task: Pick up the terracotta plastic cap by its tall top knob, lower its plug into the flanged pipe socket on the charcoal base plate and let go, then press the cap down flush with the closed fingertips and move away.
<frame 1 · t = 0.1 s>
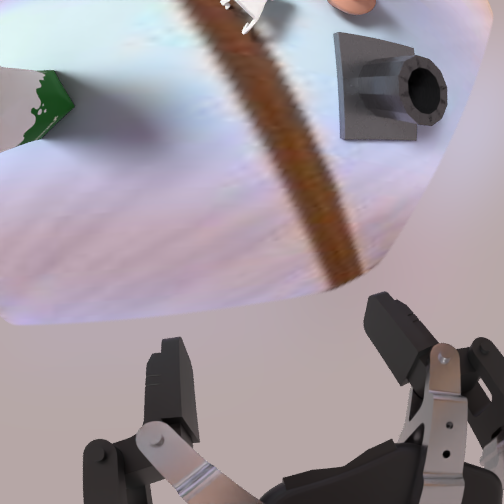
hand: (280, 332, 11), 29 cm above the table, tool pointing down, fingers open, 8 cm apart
flanged pipe socket: (377, 88, 34), on the table
milk carton: (46, 104, 26), on the table
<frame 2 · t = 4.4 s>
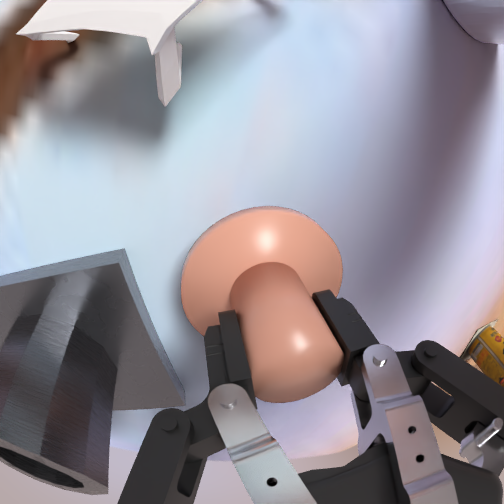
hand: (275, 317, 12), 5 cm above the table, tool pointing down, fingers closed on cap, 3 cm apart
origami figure: (180, 12, 9), on the table
condiment: (475, 342, 33), on the table
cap: (252, 256, 16), on the table, touching gripper
flanged pipe socket: (65, 347, 17), on the table
when the fingers open (15 cm above the table, at t = 10.8 s): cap drops 1 cm, resting on flanged pipe socket.
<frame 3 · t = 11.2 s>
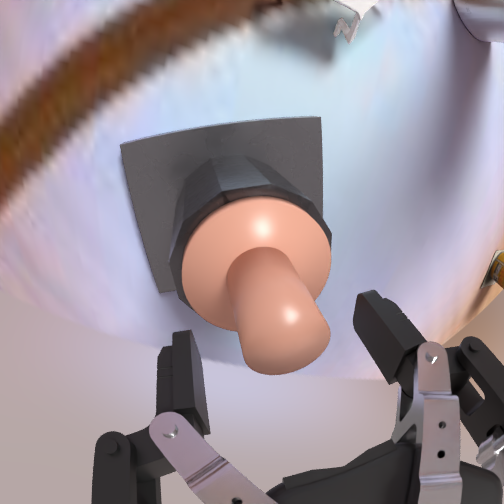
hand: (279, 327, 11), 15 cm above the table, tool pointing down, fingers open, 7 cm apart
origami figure: (335, 2, 17), on the table
condiment: (494, 267, 41), on the table
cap: (247, 245, 18), point 8 cm above the table, touching flanged pipe socket
flanged pipe socket: (230, 203, 25), on the table
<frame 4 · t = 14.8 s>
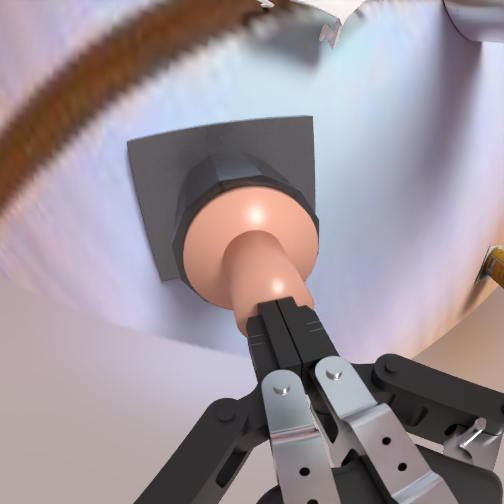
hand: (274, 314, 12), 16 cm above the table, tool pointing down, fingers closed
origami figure: (320, 8, 19), on the table
condiment: (489, 263, 42), on the table
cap: (243, 232, 19), point 8 cm above the table, touching gripper, flanged pipe socket
flanged pipe socket: (228, 196, 26), on the table
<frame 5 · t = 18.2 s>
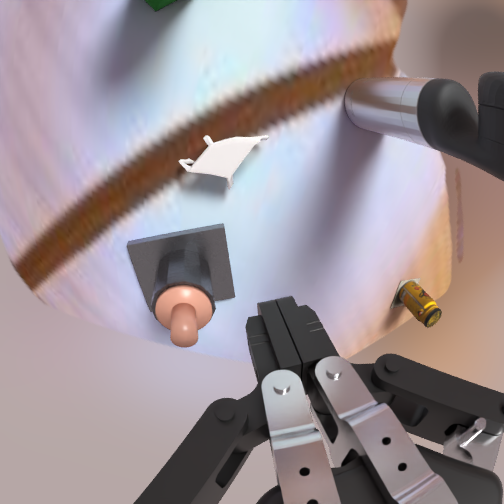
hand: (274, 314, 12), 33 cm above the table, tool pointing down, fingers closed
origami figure: (226, 151, 40), on the table
condiment: (404, 292, 64), on the table
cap: (183, 297, 41), point 8 cm above the table, touching flanged pipe socket
flanged pipe socket: (183, 268, 48), on the table
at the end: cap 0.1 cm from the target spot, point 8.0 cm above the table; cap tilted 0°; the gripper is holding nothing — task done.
